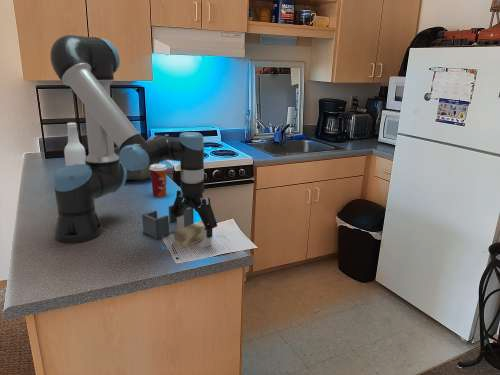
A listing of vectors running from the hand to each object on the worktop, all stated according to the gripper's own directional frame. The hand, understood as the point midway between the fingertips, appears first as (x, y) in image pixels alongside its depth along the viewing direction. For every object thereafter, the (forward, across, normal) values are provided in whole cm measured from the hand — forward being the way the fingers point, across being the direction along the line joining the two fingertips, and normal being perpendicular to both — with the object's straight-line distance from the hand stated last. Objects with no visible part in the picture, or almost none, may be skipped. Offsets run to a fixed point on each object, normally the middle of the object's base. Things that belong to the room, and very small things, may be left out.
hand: (193, 239), depth 131 cm
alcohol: (0, +82, -1) cm, 82 cm away
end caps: (0, +13, 0) cm, 13 cm away
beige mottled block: (0, 0, 0) cm, 0 cm away
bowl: (0, +75, -28) cm, 80 cm away
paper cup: (0, +45, -20) cm, 49 cm away
